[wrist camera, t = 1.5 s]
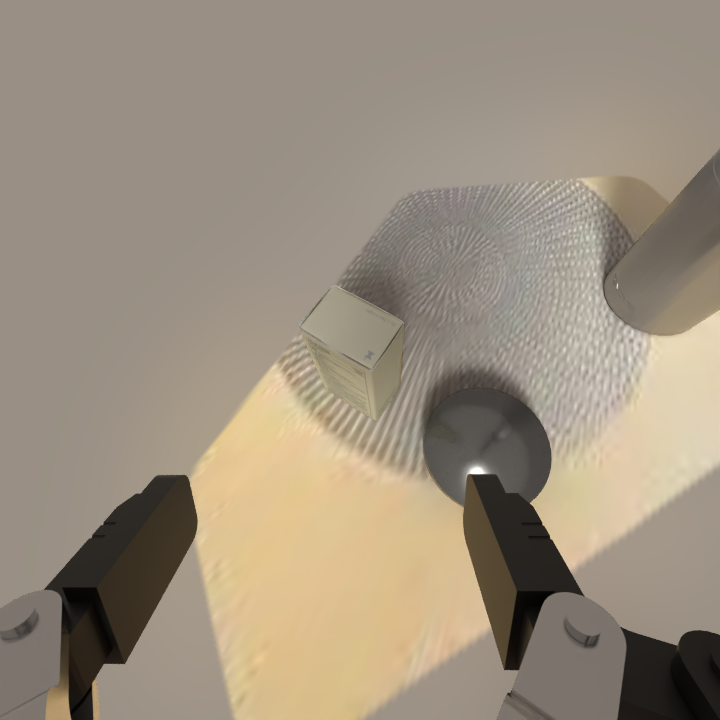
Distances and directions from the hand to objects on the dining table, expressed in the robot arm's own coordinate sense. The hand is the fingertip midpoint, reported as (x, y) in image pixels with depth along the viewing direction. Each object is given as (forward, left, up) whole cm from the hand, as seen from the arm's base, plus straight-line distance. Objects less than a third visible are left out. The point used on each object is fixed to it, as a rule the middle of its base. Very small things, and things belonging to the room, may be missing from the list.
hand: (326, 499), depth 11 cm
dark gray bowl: (-11, -3, -22) cm, 25 cm away
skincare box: (-2, -11, -23) cm, 25 cm away
